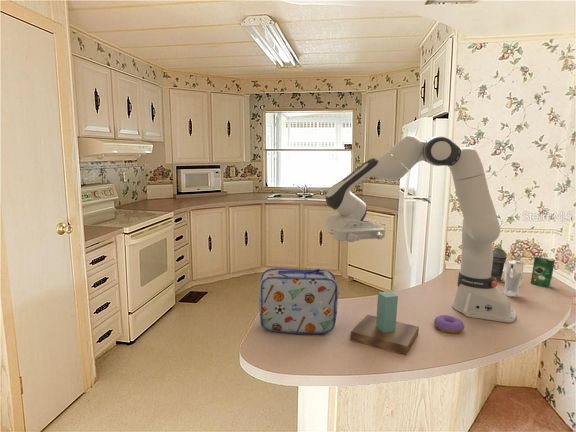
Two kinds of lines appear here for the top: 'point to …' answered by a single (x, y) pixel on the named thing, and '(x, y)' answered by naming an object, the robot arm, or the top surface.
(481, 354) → the top surface
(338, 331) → the top surface
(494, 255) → the beverage cup
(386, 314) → the teal block
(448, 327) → the donut
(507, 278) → the beer glass
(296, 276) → the lunch box
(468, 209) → the robot arm
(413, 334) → the walnut riser
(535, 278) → the coffee box
